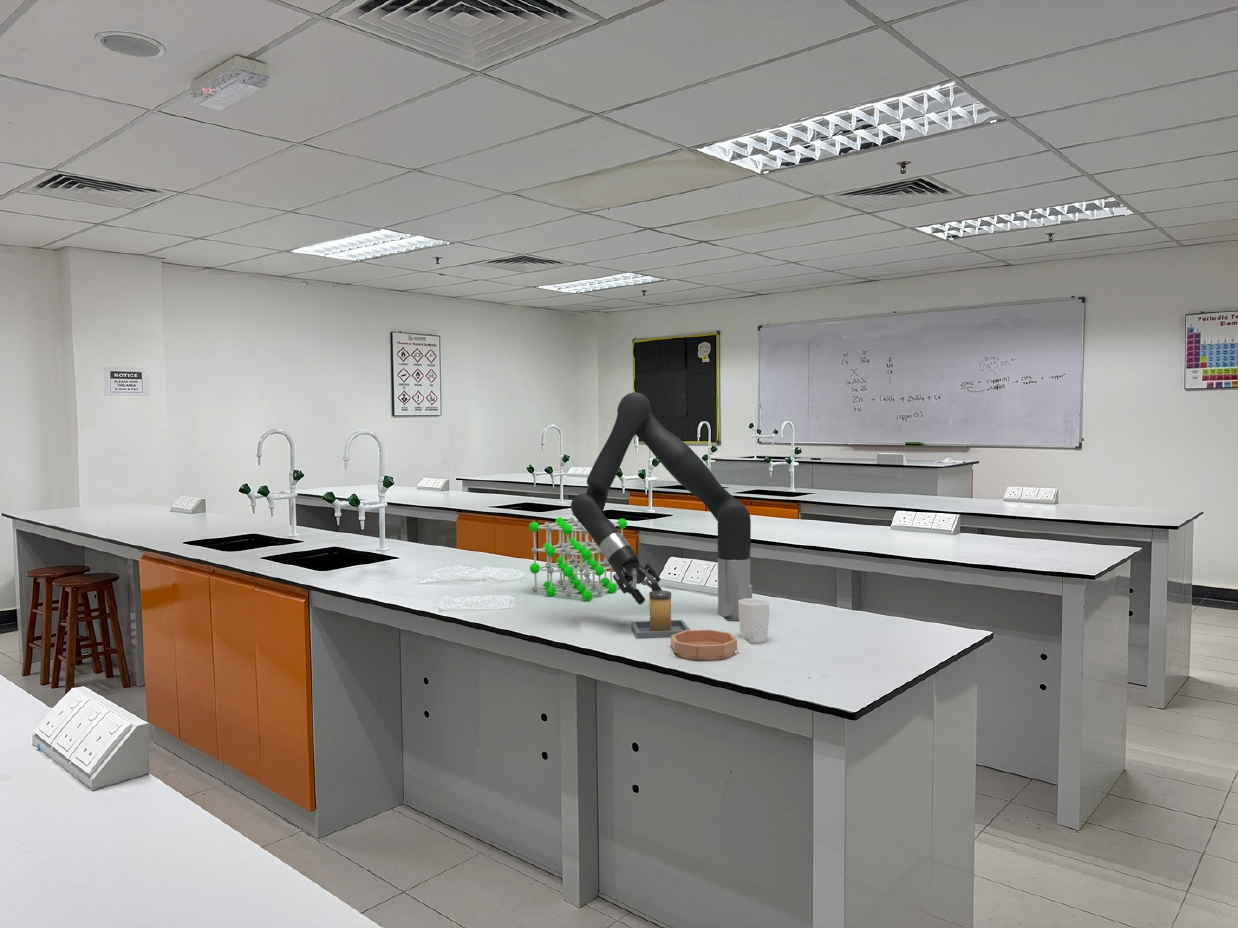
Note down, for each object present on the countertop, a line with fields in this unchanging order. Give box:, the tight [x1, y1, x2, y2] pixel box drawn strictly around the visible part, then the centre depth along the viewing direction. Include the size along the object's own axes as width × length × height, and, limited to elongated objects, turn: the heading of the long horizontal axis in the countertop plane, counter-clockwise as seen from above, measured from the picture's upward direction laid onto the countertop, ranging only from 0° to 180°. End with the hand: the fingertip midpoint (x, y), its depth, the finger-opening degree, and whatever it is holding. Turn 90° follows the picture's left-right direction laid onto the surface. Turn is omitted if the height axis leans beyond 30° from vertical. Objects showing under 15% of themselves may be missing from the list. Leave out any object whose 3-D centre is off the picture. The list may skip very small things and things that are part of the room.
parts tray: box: [631, 619, 691, 640], centre depth 217 cm, size 14×12×2 cm
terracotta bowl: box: [670, 629, 738, 662], centre depth 200 cm, size 15×15×4 cm
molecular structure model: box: [528, 517, 628, 602], centre depth 275 cm, size 24×25×24 cm
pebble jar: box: [648, 590, 672, 632], centre depth 216 cm, size 6×6×10 cm
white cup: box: [738, 597, 770, 644], centre depth 211 cm, size 8×8×10 cm
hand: (652, 599), depth 218 cm, fingers open, 8 cm apart
